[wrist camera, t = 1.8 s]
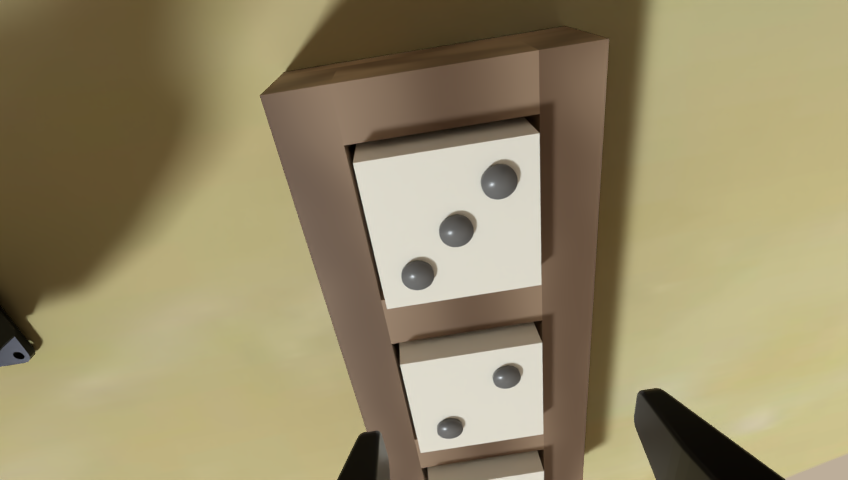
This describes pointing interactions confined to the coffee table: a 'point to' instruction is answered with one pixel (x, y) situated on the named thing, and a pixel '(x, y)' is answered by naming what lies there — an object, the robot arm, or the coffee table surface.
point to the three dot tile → (453, 210)
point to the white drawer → (492, 468)
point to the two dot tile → (474, 386)
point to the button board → (544, 304)
